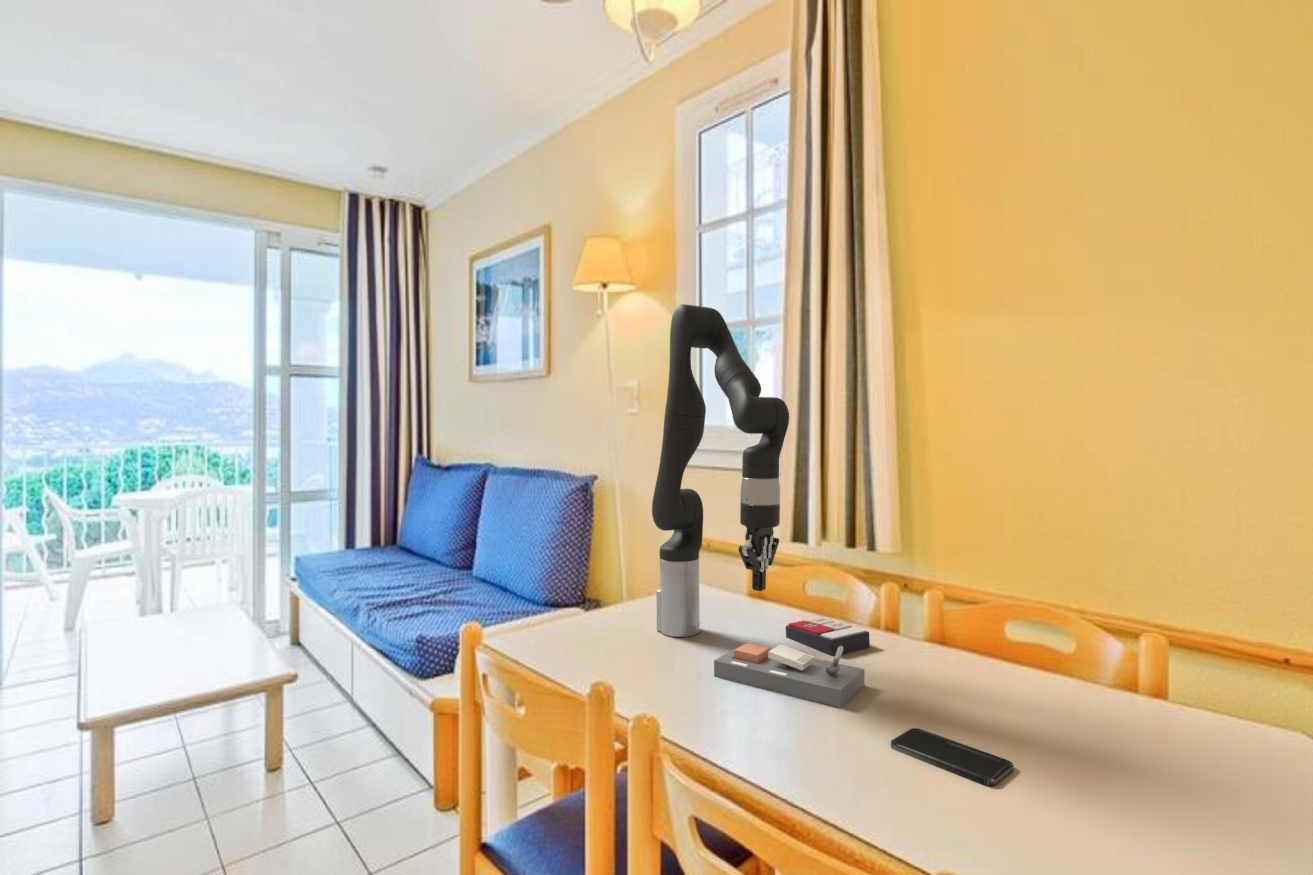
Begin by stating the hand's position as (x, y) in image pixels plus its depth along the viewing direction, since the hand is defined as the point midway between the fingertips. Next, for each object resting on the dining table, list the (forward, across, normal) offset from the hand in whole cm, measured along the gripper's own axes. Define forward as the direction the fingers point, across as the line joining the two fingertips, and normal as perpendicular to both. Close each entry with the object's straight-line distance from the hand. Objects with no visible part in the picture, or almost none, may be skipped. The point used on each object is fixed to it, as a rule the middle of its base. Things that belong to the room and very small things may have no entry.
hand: (758, 589), depth 128 cm
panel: (+16, 0, +7) cm, 17 cm away
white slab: (+12, 0, +7) cm, 14 cm away
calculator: (+17, -25, +4) cm, 30 cm away
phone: (+16, +14, +38) cm, 43 cm away
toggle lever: (+13, 0, +15) cm, 20 cm away
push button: (+15, 0, -1) cm, 15 cm away
